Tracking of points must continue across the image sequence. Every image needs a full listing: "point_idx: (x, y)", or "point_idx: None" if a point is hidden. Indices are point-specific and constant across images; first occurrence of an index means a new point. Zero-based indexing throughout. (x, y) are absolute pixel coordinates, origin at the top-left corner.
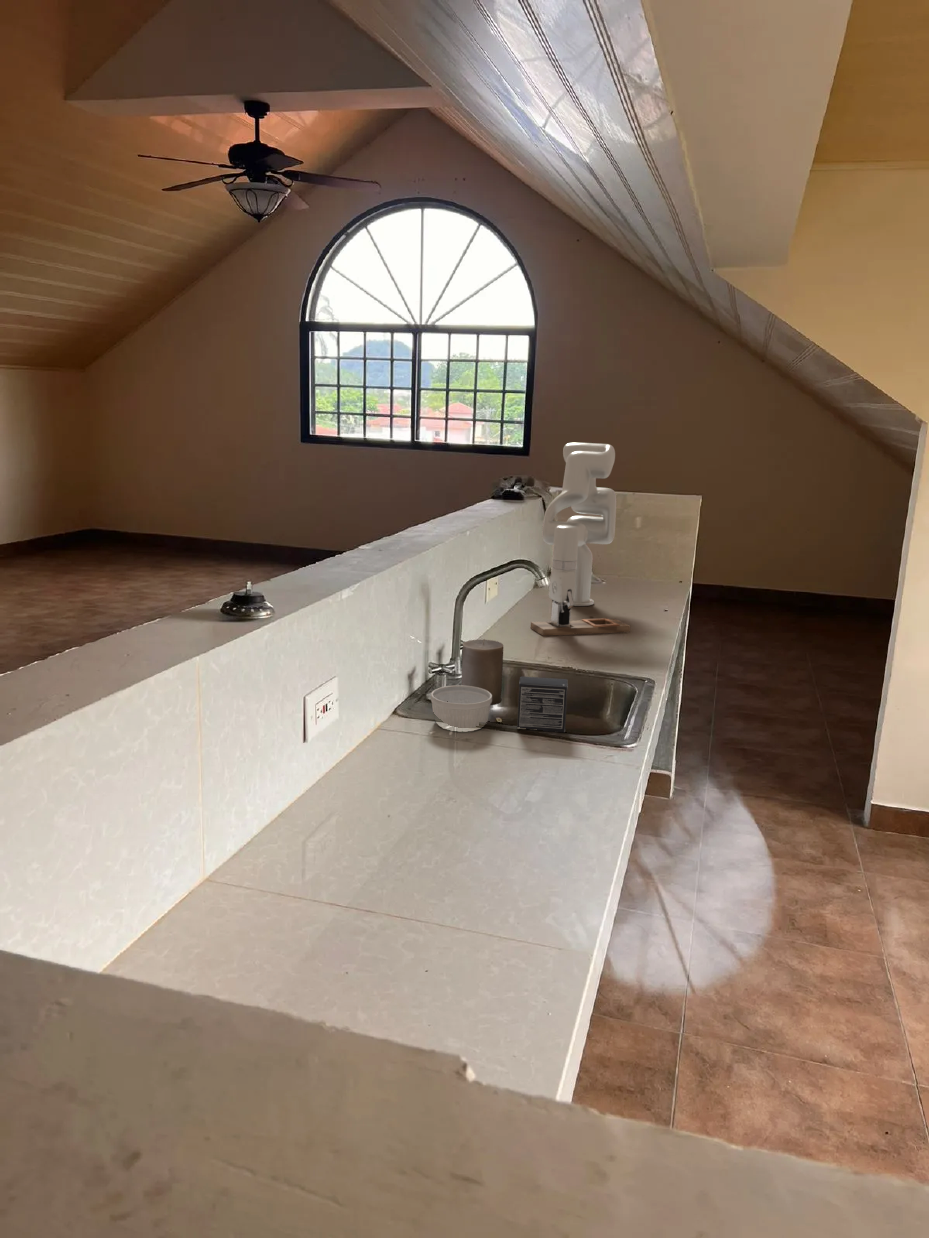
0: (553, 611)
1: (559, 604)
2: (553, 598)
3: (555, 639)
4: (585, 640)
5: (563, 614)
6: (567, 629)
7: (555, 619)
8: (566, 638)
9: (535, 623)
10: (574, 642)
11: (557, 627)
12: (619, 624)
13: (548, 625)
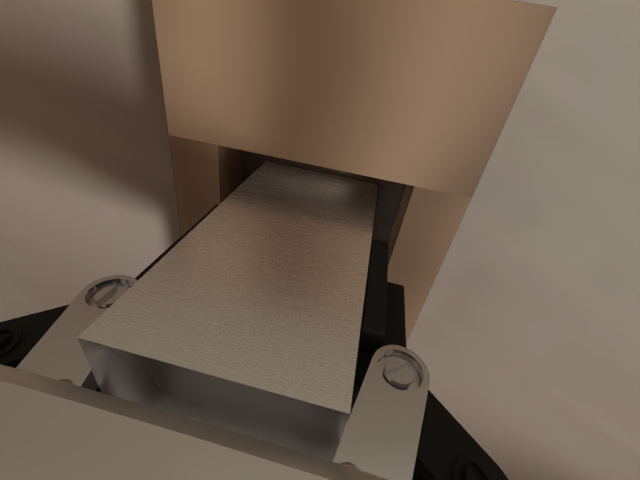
0: (305, 274)
1: (105, 365)
2: (159, 471)
3: (67, 18)
4: (73, 215)
5: (138, 276)
6: (185, 218)
7: (261, 214)
8: (108, 133)
9: (446, 27)
10: (9, 120)
11: (217, 166)
12: None
13: (303, 130)
